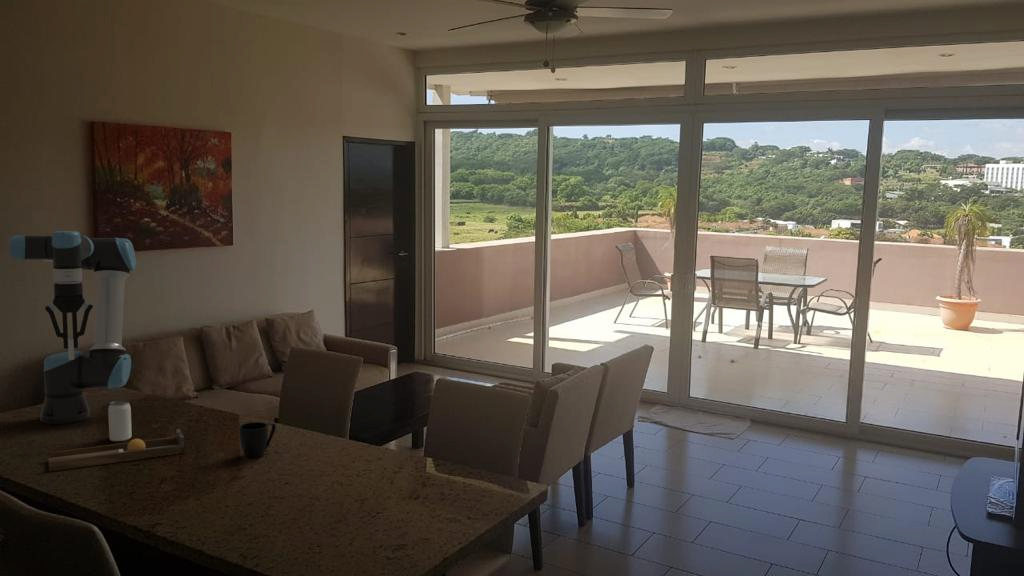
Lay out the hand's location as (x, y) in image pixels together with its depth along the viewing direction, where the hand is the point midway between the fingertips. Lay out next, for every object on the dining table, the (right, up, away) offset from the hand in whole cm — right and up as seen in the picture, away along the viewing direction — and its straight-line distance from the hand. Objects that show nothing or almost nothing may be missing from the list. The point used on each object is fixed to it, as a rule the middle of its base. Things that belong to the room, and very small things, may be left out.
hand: (71, 358), depth 240 cm
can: (+8, -27, +14) cm, 32 cm away
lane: (+16, -29, -3) cm, 34 cm away
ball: (+21, -27, -2) cm, 34 cm away
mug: (+57, -30, +2) cm, 64 cm away
